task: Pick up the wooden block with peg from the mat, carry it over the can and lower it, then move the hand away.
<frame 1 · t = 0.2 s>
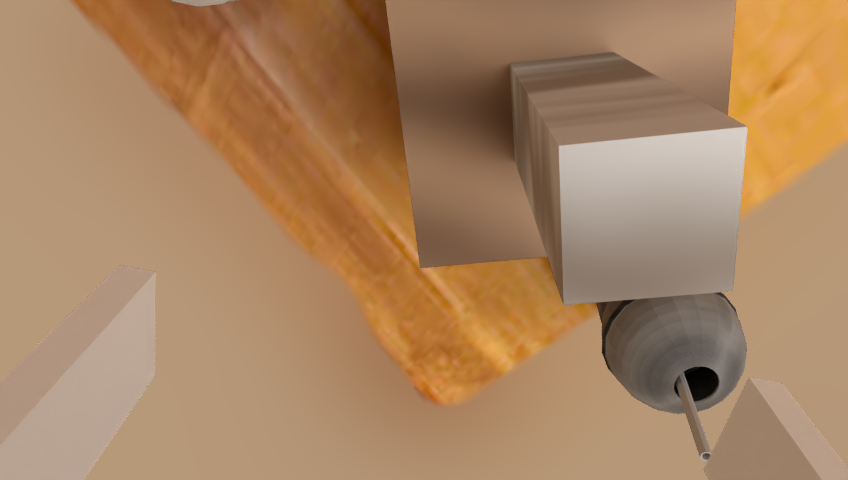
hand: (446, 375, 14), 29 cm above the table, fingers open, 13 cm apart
beverage cup: (617, 249, 45), on the table
wooden block with peg: (521, 56, 39), resting on mat
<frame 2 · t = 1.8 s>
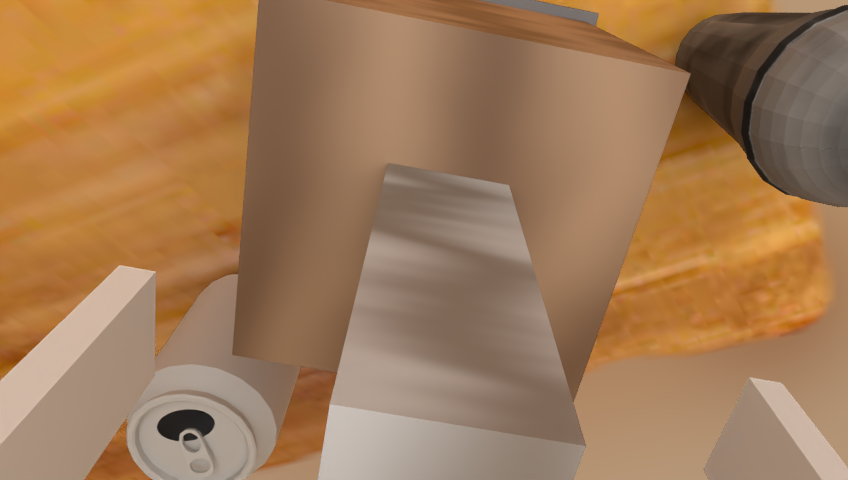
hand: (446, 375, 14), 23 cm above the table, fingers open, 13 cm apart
beverage cup: (717, 58, 34), on the table
wooden block with peg: (437, 120, 35), resting on mat
mat: (437, 118, 36), on the table
can: (256, 316, 41), on the table
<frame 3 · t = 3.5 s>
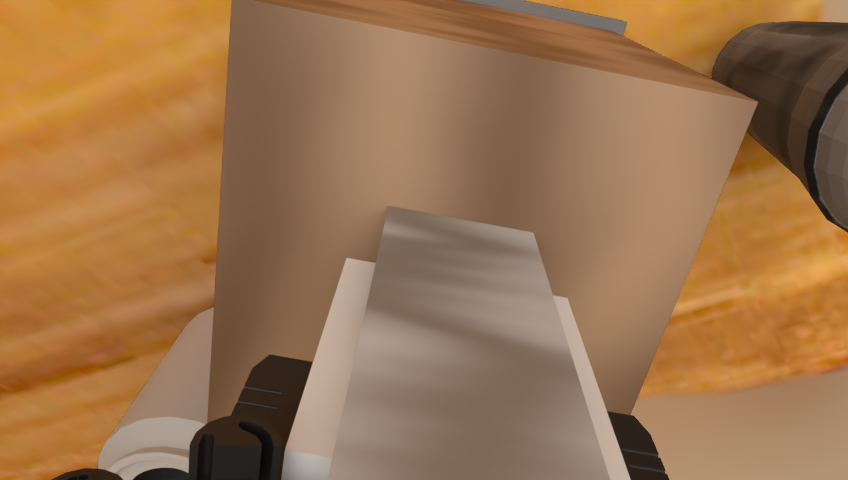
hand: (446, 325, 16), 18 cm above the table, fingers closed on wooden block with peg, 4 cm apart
beverage cup: (758, 71, 30), on the table
wooden block with peg: (446, 139, 32), resting on mat, touching gripper
mat: (446, 137, 32), on the table
can: (248, 349, 38), on the table
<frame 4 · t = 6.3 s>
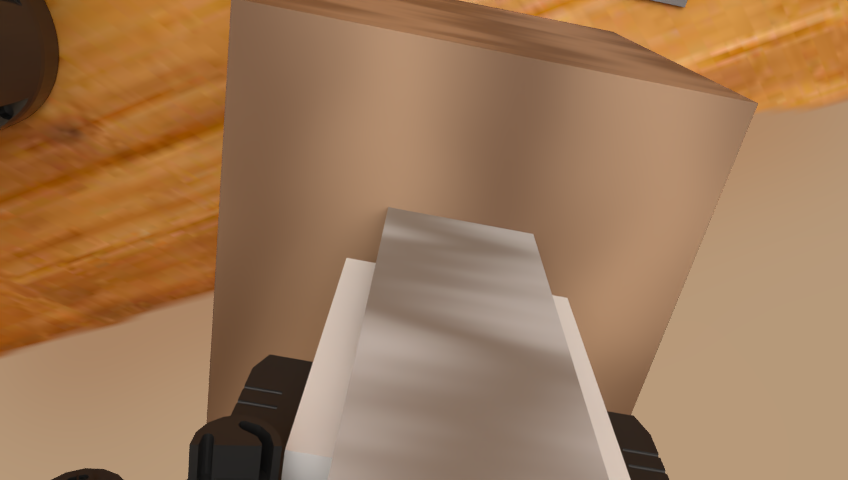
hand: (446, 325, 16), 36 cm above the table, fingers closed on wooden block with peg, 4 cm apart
wooden block with peg: (446, 140, 32), point 19 cm above the table, touching gripper
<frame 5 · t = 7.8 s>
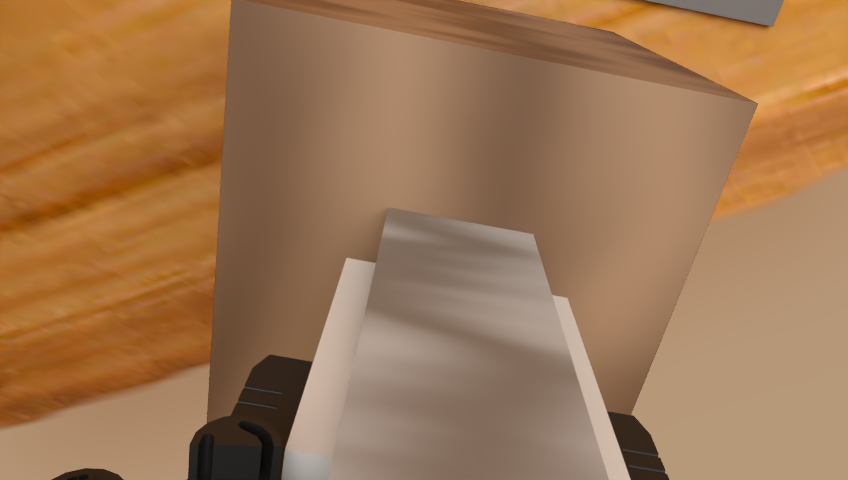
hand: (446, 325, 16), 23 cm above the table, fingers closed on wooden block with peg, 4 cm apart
wooden block with peg: (446, 140, 32), point 5 cm above the table, touching gripper
when the fingers open (19 cm above the table, at t = 9.0 s): wooden block with peg drops 1 cm, on the table.
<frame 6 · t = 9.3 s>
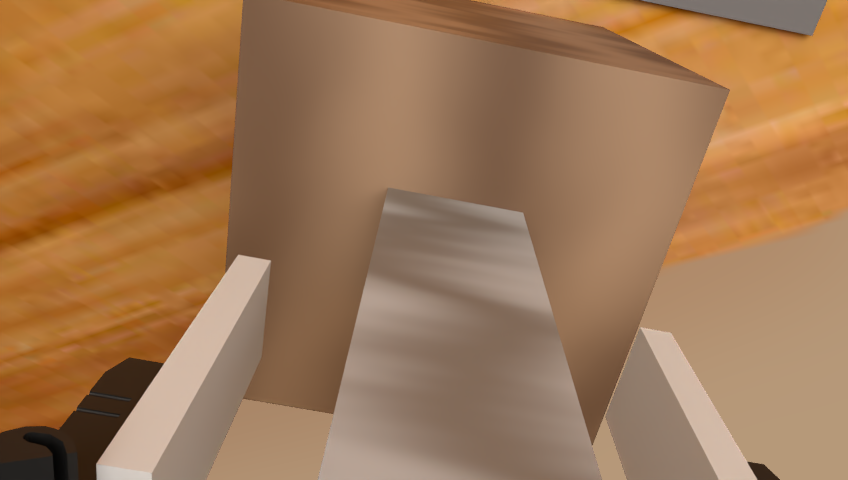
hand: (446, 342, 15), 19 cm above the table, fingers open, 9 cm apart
wooden block with peg: (443, 132, 33), on the table
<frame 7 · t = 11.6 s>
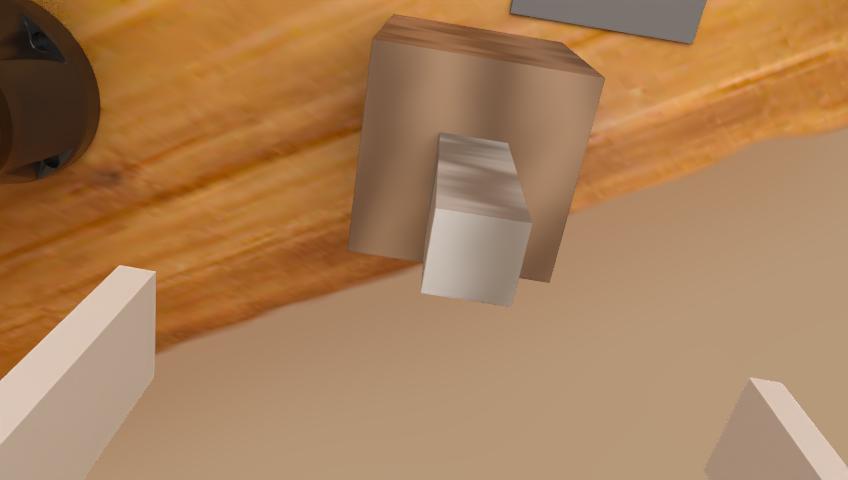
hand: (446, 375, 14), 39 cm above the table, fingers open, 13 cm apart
wooden block with peg: (463, 112, 51), on the table
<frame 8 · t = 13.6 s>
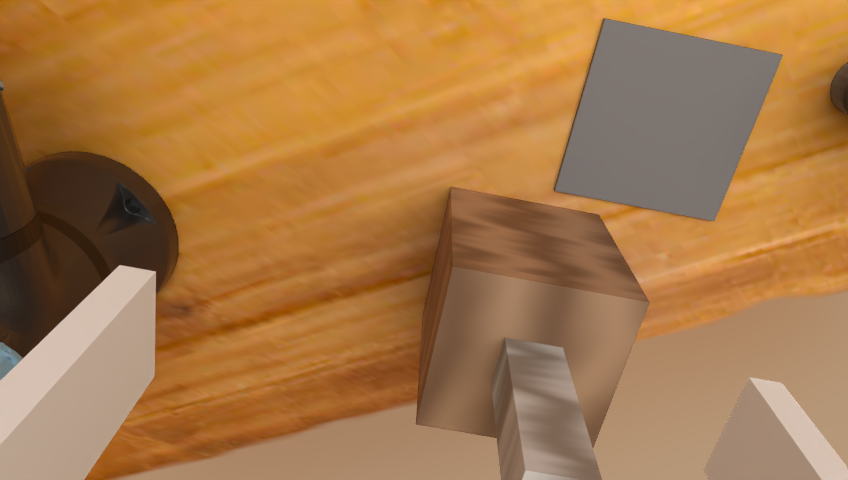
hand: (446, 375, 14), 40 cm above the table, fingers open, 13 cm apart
wooden block with peg: (507, 267, 57), on the table
mat: (661, 125, 52), on the table
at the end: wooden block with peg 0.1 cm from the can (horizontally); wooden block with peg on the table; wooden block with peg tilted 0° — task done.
